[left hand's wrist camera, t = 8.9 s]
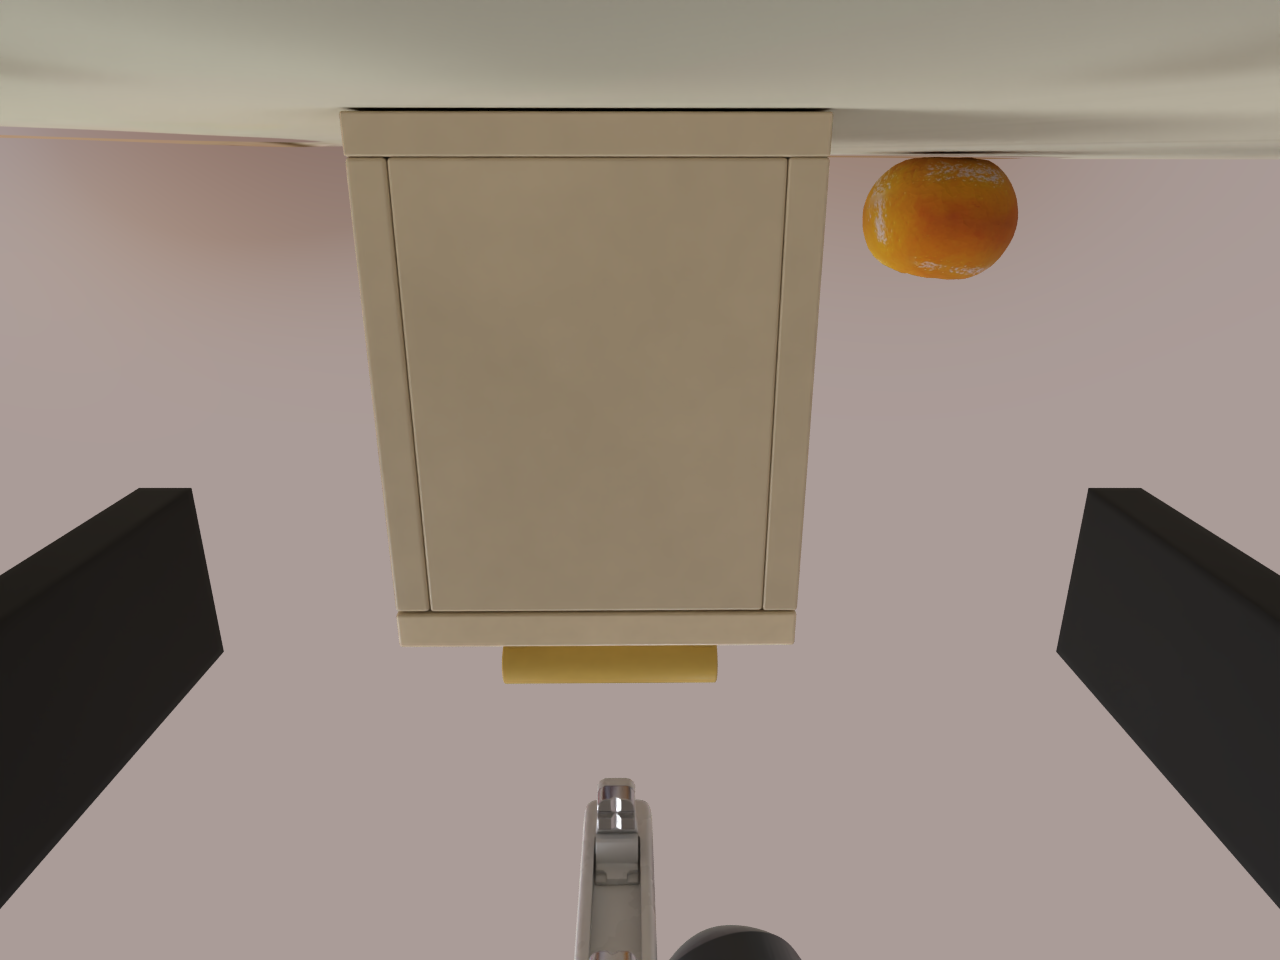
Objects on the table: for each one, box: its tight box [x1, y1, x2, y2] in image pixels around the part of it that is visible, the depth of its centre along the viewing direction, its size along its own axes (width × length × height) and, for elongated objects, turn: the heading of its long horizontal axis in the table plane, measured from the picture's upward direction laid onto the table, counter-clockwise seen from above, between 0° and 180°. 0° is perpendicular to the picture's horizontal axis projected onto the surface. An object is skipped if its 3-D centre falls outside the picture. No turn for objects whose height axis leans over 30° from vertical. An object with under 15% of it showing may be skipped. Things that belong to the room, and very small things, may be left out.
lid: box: [397, 607, 796, 684], centre depth 27 cm, size 13×9×9 cm
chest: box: [339, 111, 833, 611], centre depth 23 cm, size 13×9×10 cm
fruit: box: [863, 157, 1018, 279], centre depth 50 cm, size 8×9×8 cm
